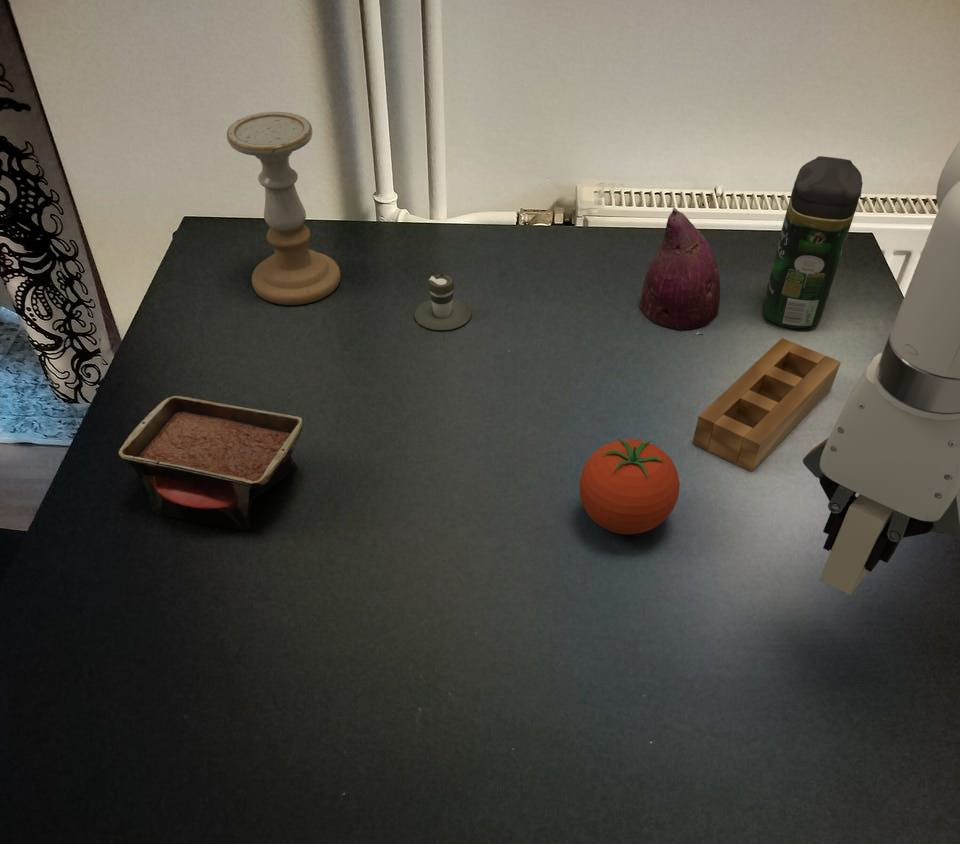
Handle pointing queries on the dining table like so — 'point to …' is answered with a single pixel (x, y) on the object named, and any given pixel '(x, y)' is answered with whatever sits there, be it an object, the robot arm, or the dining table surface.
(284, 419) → the baking dish
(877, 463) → the robot arm
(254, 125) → the candle holder
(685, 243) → the vegetable
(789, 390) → the peg block
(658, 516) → the tomato
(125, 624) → the dining table surface
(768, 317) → the coffee jar
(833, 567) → the peg
